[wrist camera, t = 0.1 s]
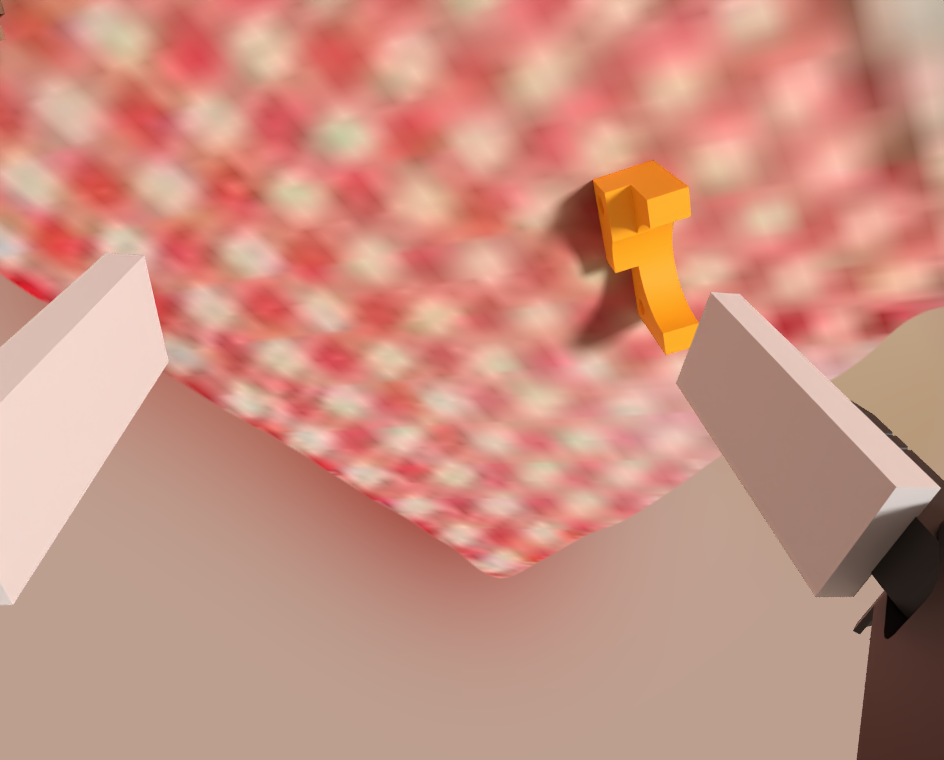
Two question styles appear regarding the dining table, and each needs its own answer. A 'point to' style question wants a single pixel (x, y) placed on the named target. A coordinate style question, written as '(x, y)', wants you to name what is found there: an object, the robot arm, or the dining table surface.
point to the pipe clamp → (648, 245)
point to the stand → (0, 32)
